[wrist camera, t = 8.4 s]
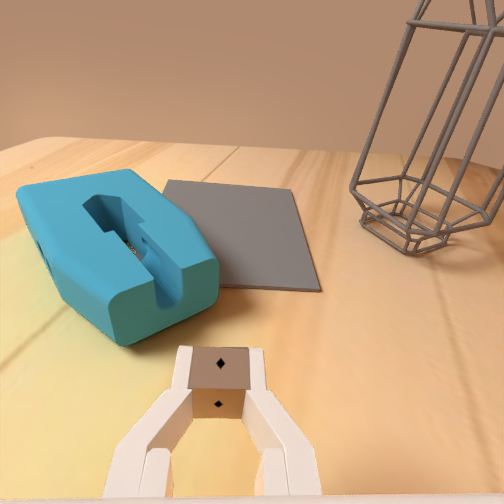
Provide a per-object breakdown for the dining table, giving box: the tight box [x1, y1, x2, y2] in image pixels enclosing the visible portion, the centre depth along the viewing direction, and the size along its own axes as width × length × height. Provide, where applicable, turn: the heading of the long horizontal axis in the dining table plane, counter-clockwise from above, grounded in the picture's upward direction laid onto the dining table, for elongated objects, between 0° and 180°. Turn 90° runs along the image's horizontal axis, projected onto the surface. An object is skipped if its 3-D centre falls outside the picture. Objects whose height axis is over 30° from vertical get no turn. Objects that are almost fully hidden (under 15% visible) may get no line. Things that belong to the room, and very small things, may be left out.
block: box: [16, 169, 219, 346], centre depth 30 cm, size 12×5×20 cm
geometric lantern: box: [349, 0, 504, 255], centre depth 32 cm, size 16×16×35 cm
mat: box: [135, 179, 320, 292], centre depth 39 cm, size 18×22×1 cm
